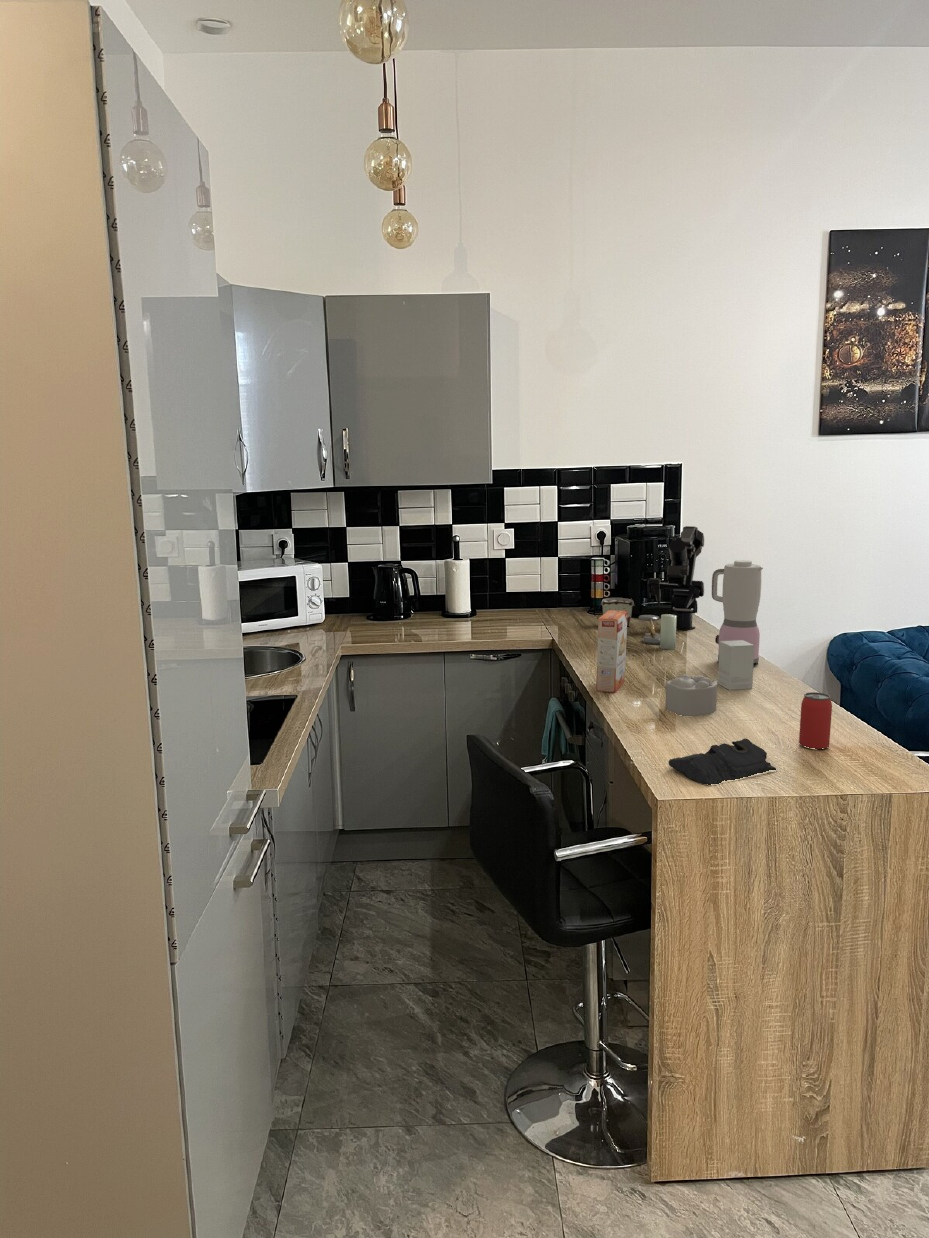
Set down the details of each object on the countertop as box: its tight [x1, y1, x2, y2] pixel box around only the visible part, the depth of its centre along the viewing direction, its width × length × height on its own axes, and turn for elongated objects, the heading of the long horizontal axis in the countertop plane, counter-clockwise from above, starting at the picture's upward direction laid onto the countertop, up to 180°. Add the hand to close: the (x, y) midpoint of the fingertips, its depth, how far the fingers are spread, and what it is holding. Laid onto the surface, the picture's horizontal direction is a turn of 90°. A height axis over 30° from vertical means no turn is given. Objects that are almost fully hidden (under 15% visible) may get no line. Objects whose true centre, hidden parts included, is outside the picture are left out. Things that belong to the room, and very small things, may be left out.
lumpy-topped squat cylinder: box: [664, 673, 718, 717], centre depth 245 cm, size 10×13×9 cm
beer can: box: [798, 691, 833, 749], centre depth 216 cm, size 7×7×12 cm
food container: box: [600, 597, 635, 627], centre depth 355 cm, size 12×6×10 cm, turn 84°
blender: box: [711, 559, 764, 665], centre depth 294 cm, size 16×12×32 cm
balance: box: [638, 614, 661, 646], centre depth 334 cm, size 23×9×6 cm, turn 179°
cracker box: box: [595, 610, 628, 694], centre depth 267 cm, size 14×6×21 cm, turn 160°
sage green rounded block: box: [659, 613, 677, 651], centre depth 317 cm, size 5×5×11 cm
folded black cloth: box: [668, 738, 777, 786], centre depth 203 cm, size 15×22×5 cm
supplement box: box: [717, 640, 755, 691], centre depth 268 cm, size 7×7×13 cm
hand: (672, 607), depth 322 cm, fingers open, 9 cm apart
